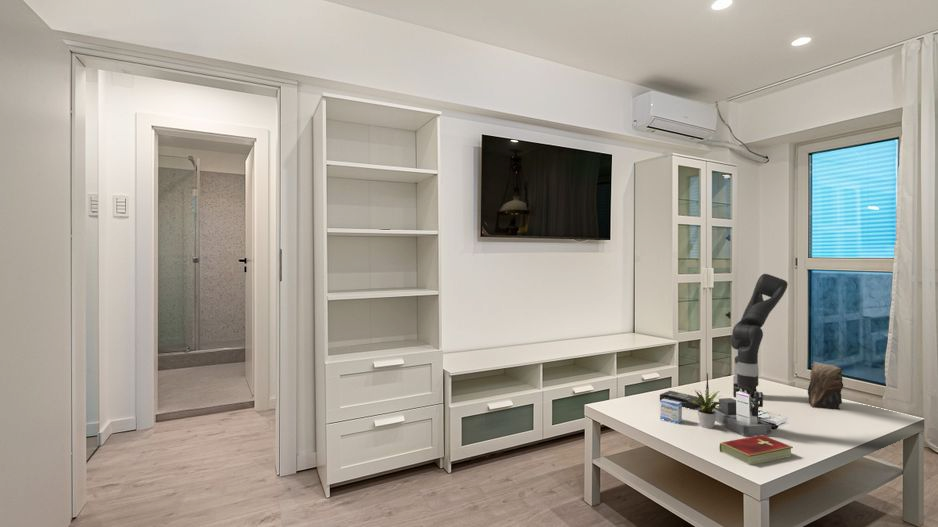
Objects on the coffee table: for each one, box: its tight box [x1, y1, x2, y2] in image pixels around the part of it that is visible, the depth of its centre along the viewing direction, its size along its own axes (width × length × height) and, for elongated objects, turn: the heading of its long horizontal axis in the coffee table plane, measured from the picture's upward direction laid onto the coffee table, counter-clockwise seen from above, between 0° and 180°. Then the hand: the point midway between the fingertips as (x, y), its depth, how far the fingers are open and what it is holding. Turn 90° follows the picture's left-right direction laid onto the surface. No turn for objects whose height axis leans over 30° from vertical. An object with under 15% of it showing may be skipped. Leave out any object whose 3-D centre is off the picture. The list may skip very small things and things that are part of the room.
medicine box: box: [659, 399, 683, 424], centre depth 196 cm, size 8×4×9 cm, turn 47°
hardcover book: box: [718, 435, 793, 466], centre depth 162 cm, size 12×21×4 cm, turn 109°
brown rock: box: [807, 361, 844, 410], centre depth 214 cm, size 13×13×20 cm
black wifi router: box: [659, 372, 710, 410], centre depth 218 cm, size 20×14×17 cm
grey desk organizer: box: [713, 397, 772, 437], centre depth 192 cm, size 27×12×9 cm, turn 6°
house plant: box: [685, 388, 722, 429], centre depth 189 cm, size 14×14×16 cm
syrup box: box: [735, 391, 759, 425], centre depth 184 cm, size 6×6×14 cm
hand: (747, 412), depth 184 cm, fingers open, 7 cm apart
